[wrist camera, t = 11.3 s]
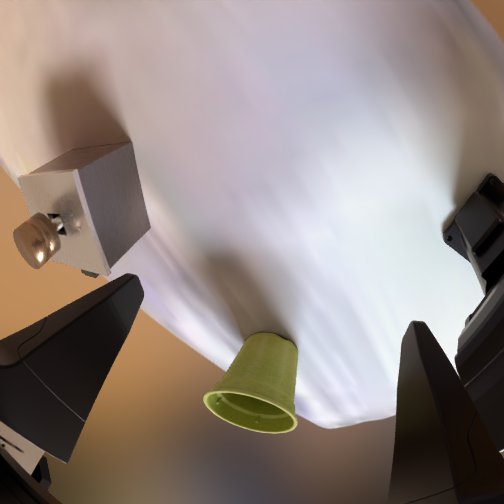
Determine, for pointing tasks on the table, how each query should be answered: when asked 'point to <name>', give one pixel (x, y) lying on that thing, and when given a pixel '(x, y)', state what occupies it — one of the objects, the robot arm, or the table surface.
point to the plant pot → (258, 386)
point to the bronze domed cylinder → (38, 239)
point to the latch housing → (90, 204)
